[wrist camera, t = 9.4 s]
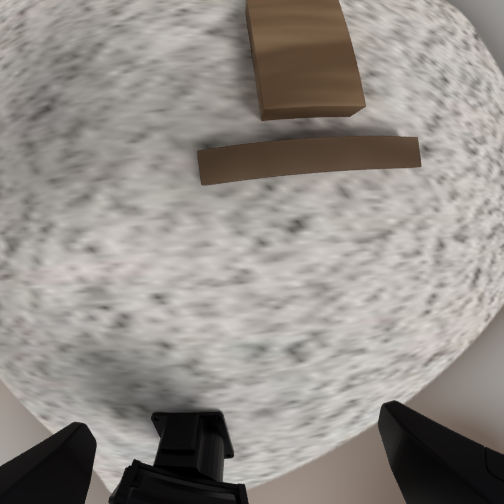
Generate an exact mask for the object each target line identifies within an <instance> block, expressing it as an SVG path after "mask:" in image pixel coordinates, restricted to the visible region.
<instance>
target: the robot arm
mask: <svg viewBox="0 0 504 504" xmlns="http://www.w3.org/2000/svg"><path fill="white" fill-rule="evenodd" d="M216 417H219V418H216ZM151 420H152V422H153V424H154V426H155V428H156V430H157V432H158V434H159V436H160V438H161V439H160V443H159V447H158V451H157V454H156V457H155V461H154V464H153V466H151V465H148V464H145V463H142V462H141V461H139V460H136V459H134V460H133V463H132V465H131V466H130V465H129V466H128V467H126V468H125V471H124V474H123V476H122V479H121V481H120V483H119V485H118V486H117V487H116V489H115V490H114V492H113V493H112V494H111V496H110V497H109V501H108V502H109V504H249V503H248V498H247V493H246V487H245V484H239V483H238V484H232V483H225V482H223V468H224V459H227V458H233V457H234V450H233V447H232V444H231V440H230V437H229V433H228V429H227V426H226V422H225V419H224V415H223V414H222V413H220V412H203V413H153V414H152V417H151ZM378 428H379V432H380V435H381V438H382V441H383V444H384V448H385V451H386V454H387V457H388V461H389V464H390V467H391V470H392V472H393V474H394V476H395V479H396V481H397V483H398V486H399V488H400V490H401V492H402V495H403V497H404V499H405V501H406V504H504V454H501V453H499V452H497V451H494V450H492V449H490V448H488V447H485V448H484V446H483V445H481V444H479V443H477V442H475V441H473V440H471V439H469V438H467V437H465V436H462V435H461V434H459V433H457V432H454V431H453V430H450V429H449V428H447V427H445V426H443V425H441V424H439V423H437V422H435V421H433V420H431V419H429V418H427V417H426V416H424V415H422V414H420V413H418V412H416V411H414V410H412V409H410V408H409V407H407V406H405V405H404V404H402V403H400V402H398V401H395V400H393V401H390V402H386V403H384V404H382V406H381V410H380V415H379V420H378ZM96 447H97V443H96V440H95V438H94V436H93V435H92V433H91V431H90V430H89V428H88V426H87V425H86V424H84V423H80V422H73V423H71V424H70V425H68V426H66V427H65V428H63V429H62V430H60V431H58V432H57V433H55V434H54V435H52V436H51V437H49V438H47V439H45V440H44V441H43V442H41V443H39V444H37V445H36V446H34V447H32V448H31V449H29V450H27V451H26V452H24V453H22V454H20V455H19V456H17V457H15V458H14V459H12V460H10V461H8V462H7V463H5V464H3V465H2V466H0V504H85V500H86V496H87V492H88V489H89V485H90V481H91V475H92V469H93V463H94V458H95V452H96Z"/></svg>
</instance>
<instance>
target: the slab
mask: <svg viewBox="0 0 504 504" xmlns="http://www.w3.org/2000/svg"><path fill="white" fill-rule="evenodd" d="M245 15H246V21H247V27H248V33H249V39H250V46H251V52H252V59H253V65H254V72H255V79H256V86H257V93H258V100H259V107H260V114H261V121H268V120H279V119H294V118H314V117H350V116H352V115H353V114H355V113H357V112H358V111H360V110H361V109H363V108H364V107H366V104H365V98H364V93H363V88H362V84H361V79H360V75H359V70H358V66H357V62H356V58H355V54H354V50H353V46H352V43H351V39H350V35H349V32H348V28H347V25H346V22H345V19H344V15H343V12H342V9H341V6H340V3H339V0H245Z"/></svg>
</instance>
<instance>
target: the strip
mask: <svg viewBox="0 0 504 504" xmlns="http://www.w3.org/2000/svg"><path fill="white" fill-rule="evenodd" d="M197 155H198V163H199V171H200V179H201V185H213V184H220V183H227V182H234V181H242V180H250V179H258V178H267V177H276V176H286V175H296V174H307V173H319V172H332V171H348V170H366V169H393V168H415V167H421V158H420V150H419V143H418V137H399V136H345V137H320V138H303V139H289V140H278V141H267V142H258V143H249V144H241V145H233V146H226V147H219V148H212V149H206V150H199V151H197Z"/></svg>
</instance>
